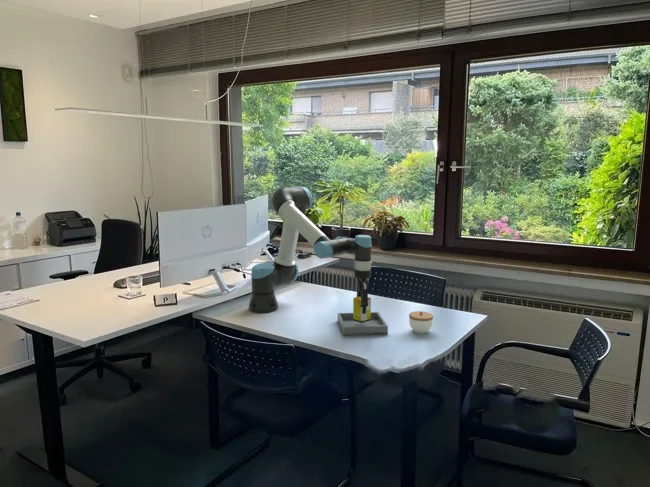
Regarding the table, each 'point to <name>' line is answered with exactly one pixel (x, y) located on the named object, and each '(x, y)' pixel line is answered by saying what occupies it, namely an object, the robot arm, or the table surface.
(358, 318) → the supplement box
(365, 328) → the desk tray
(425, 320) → the lidded jar
